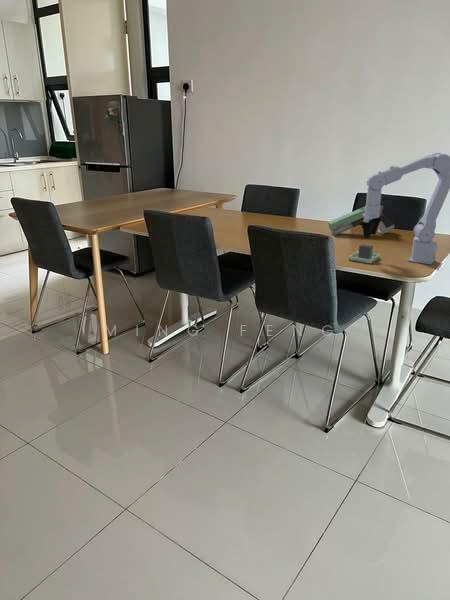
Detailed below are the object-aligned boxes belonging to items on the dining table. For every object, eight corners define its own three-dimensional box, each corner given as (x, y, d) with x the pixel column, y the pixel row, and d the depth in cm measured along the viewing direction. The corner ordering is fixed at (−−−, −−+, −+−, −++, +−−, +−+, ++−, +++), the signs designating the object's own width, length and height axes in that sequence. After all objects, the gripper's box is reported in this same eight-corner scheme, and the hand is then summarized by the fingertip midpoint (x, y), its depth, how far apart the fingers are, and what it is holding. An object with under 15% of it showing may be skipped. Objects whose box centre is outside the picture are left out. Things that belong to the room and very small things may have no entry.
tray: (379, 258, 199) (379, 254, 198) (371, 264, 190) (371, 260, 190) (357, 254, 204) (357, 250, 203) (348, 260, 196) (348, 256, 195)
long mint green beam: (396, 229, 238) (386, 194, 231) (339, 252, 242) (328, 218, 235) (391, 226, 245) (381, 192, 238) (335, 249, 248) (324, 216, 241)
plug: (371, 257, 197) (373, 245, 195) (369, 259, 194) (370, 247, 192) (356, 255, 200) (358, 243, 198) (354, 257, 198) (355, 245, 196)
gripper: (369, 201, 196) (366, 231, 201) (357, 206, 185) (354, 238, 190) (385, 202, 192) (382, 233, 197) (374, 207, 181) (371, 240, 186)
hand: (369, 236), depth 193 cm, fingers open, 7 cm apart
